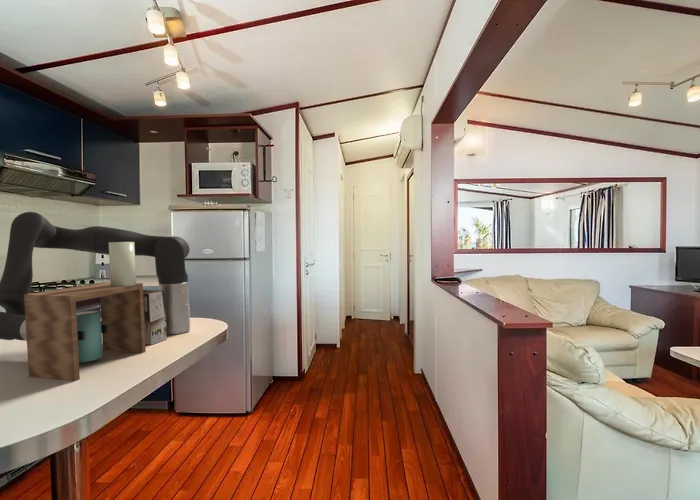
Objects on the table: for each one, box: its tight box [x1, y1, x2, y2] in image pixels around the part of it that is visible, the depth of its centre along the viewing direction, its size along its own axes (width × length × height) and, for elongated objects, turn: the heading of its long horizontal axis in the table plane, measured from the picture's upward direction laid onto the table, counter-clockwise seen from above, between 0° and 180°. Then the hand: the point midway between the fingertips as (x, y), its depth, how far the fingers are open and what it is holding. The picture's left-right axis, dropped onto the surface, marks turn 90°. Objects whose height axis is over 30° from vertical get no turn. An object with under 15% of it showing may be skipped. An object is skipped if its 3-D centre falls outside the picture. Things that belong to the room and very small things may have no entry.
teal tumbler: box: [76, 310, 104, 363], centre depth 95 cm, size 6×6×12 cm
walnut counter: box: [24, 281, 147, 382], centre depth 94 cm, size 14×21×20 cm, turn 167°
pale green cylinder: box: [108, 242, 137, 287], centre depth 99 cm, size 6×6×12 cm
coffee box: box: [143, 289, 168, 345], centre depth 113 cm, size 9×6×16 cm
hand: (95, 332), depth 94 cm, fingers open, 6 cm apart
